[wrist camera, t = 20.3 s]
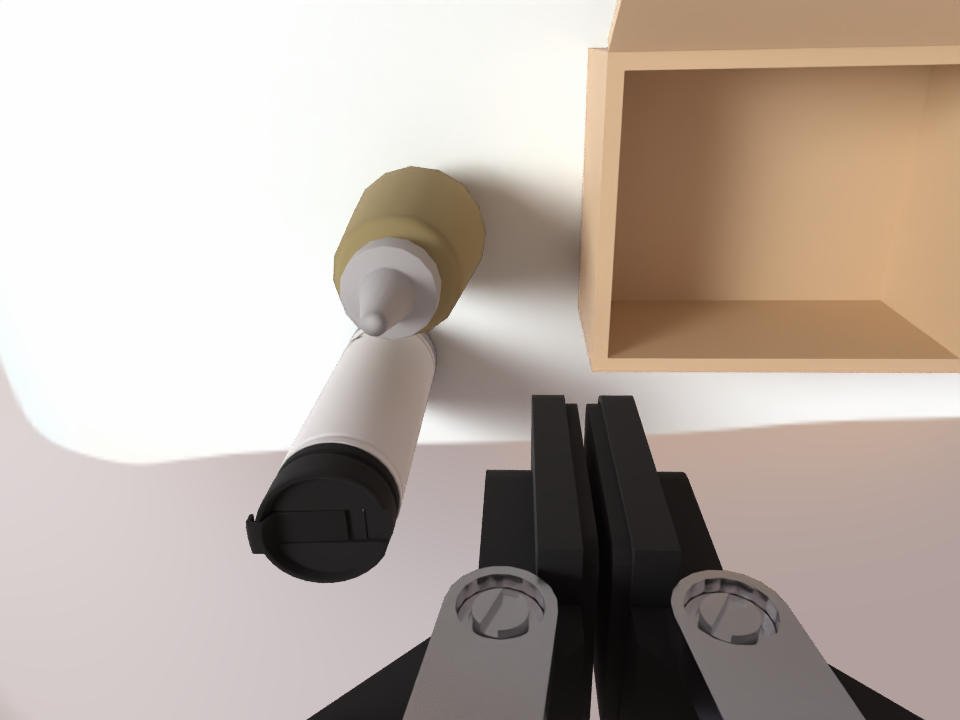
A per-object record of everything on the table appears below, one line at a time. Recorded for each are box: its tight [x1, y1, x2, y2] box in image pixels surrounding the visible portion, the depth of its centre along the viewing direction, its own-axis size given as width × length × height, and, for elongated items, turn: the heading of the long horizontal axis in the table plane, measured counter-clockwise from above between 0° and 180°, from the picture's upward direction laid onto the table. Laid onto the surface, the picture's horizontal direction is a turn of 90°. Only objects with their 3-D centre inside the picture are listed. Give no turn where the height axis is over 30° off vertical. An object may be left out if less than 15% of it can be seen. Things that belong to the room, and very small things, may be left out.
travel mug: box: [246, 328, 437, 583], centre depth 41 cm, size 6×7×20 cm
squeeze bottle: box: [333, 166, 486, 340], centre depth 38 cm, size 8×8×18 cm
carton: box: [578, 45, 960, 373], centre depth 40 cm, size 16×20×10 cm
